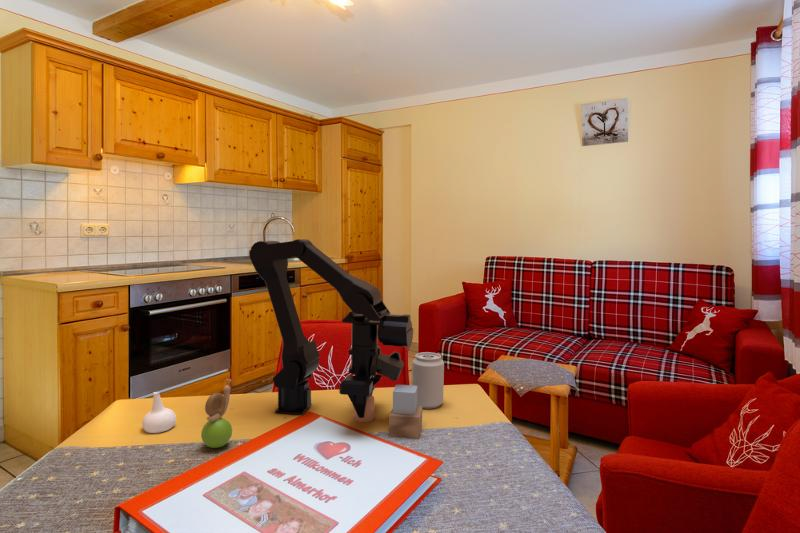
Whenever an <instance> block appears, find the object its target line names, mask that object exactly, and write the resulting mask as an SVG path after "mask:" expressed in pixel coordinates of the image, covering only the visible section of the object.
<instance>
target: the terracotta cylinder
mask: <svg viewBox="0 0 800 533" xmlns="http://www.w3.org/2000/svg"><path fill="white" fill-rule="evenodd" d="M374 419H375V395H373V394H372V395H368V398H367V404H366V409H365V415H364V418H359V417H358V415H357V413H356V410H355V408H354V407H353V420H354V421H356V422H360V423H368V422H371V421H374Z"/></svg>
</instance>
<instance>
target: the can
mask: <svg viewBox="0 0 800 533" xmlns="http://www.w3.org/2000/svg"><path fill="white" fill-rule="evenodd" d="M414 356H415V358H414V359H413V360H412V365H411V367H412V372H411V373H412V374H411V378H412V379H411V385H412V386H418V389H417V406H422V409H428V410H429V409H436V408H439V406H440V405H442V404H443V403H444V388H445V386H444V381H445V380H444V379H445V378H444V375H445V374H444V373H445V362H444V360H443V359H442V355H441V354H439V353H436V352H432V351H431V352H429V351H425V352H418V353H416V354H415V355H414Z"/></svg>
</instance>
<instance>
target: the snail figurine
mask: <svg viewBox="0 0 800 533" xmlns="http://www.w3.org/2000/svg"><path fill="white" fill-rule="evenodd" d="M225 382H226V385H224V387H223V394H222V393H221V392H214V393H212V394H210V395H209V397H208V398H207V400H206V401H205V404H204V405H205V406H204V410H205V414H206V415H207V417H206V420H207V422H206V423H205V424H204V425H203V427H202V429H201V435H200V436H201V441H202V442H203V444H204V445H206V446H207V447H208V448H211V449H219V448H221V447H224V446H225V445H227V443H228V442H229V441H230V440H231V438H232V435H233V427H232V424H231V423H230V422H229V421H228V420H227V419H226V418H223V416H224V415H225V414H226V413H227V410H228V408H229V407H228V406H229V404H230V399H231V398H230V397H231V396H230V393H231V390H232V388H231V385H230V384H228V382H229V383H231V382H232V379H231V378H230V379H229V378H226V379H225Z"/></svg>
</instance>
